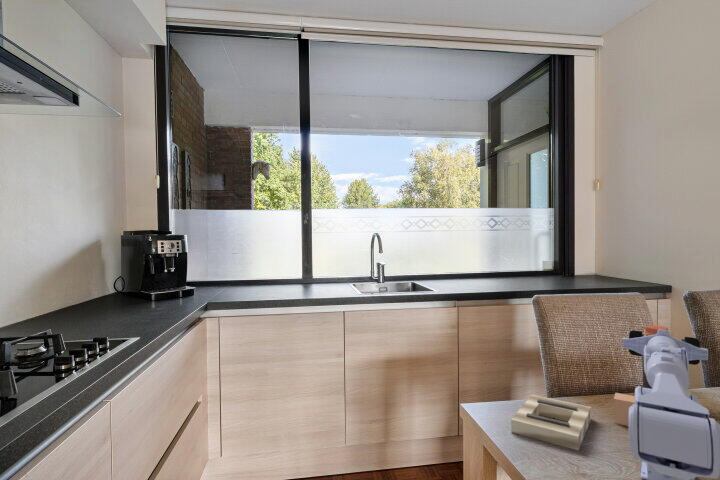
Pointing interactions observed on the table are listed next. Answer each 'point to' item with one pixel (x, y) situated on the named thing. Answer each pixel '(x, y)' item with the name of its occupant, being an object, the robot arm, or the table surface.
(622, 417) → the block
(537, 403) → the slotted wooden holder
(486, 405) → the table surface
